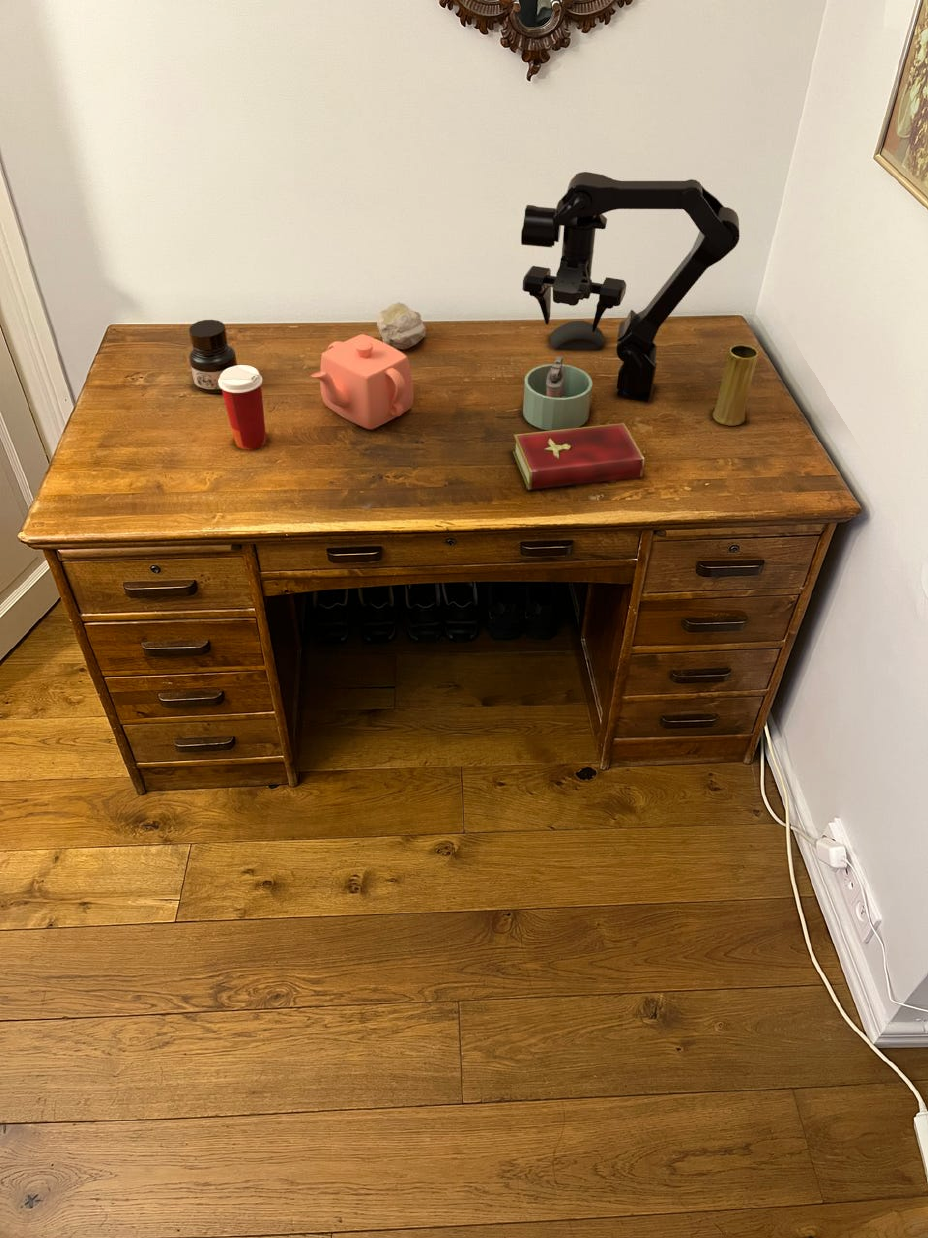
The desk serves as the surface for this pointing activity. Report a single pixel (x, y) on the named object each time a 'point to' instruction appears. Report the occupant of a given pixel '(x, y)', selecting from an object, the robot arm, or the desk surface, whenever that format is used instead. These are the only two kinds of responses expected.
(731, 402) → the vase
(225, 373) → the paper cup
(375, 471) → the desk surface
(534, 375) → the pen pot
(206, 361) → the ink bottle
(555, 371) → the lighter
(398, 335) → the grey rock
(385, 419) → the teapot
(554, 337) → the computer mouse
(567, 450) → the hardcover book
